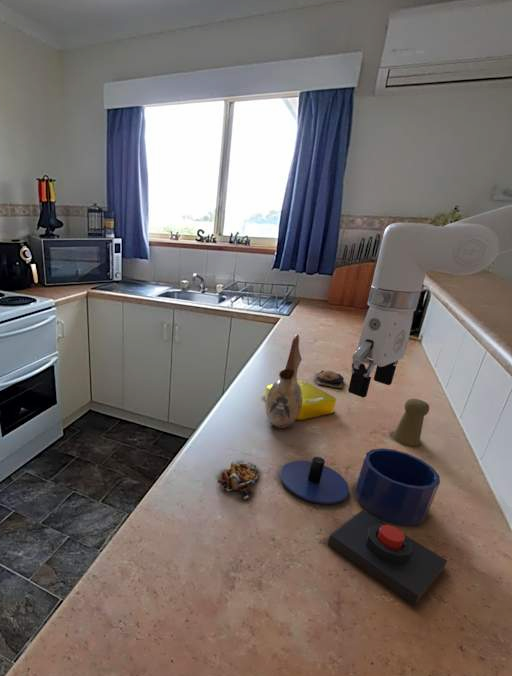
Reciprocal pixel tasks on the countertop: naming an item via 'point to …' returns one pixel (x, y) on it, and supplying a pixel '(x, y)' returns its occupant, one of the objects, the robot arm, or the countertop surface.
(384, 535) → the release button
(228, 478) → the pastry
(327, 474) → the blue round disc
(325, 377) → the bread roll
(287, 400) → the ceramic vessel
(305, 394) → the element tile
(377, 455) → the tin
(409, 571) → the block
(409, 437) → the brown pawn
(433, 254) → the robot arm
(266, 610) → the countertop surface
